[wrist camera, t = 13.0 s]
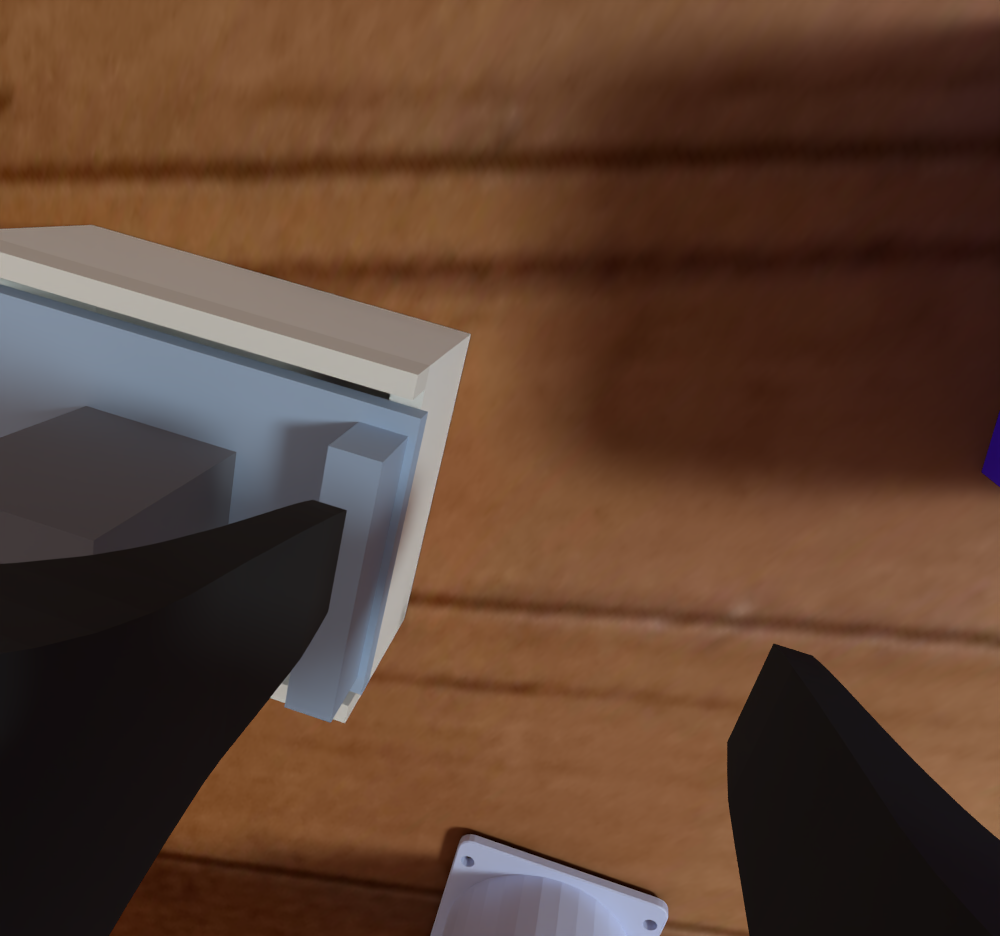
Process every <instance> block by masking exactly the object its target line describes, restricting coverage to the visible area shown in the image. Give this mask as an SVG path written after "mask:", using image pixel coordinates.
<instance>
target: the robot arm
mask: <svg viewBox="0 0 1000 936" xmlns="http://www.w3.org/2000/svg"><path fill="white" fill-rule="evenodd" d="M346 513H347V510H344V509H341V508H338V507H335V506H332V505H328V504H325V503H322V502H319V501H316V500H309V501H304V502H300V503H296V504H293V505H289V506H286V507H283V508H280V509H276V510H273V511H270V512H267V513H264V514H261V515H257V516H254V517H251V518H248V519H244V520H241V521H238V522H235V523H231V524H228V525H225V526H221V527H218V528H214V529H210V530H207V531H203V532H199V533H195V534H191V535H187V536H184V537H180V538H176V539H172V540H168V541H164V542H160V543H155V544H151V545H146V546H141V547H136V548H131V549H125V550H119V551H113V552H107V553H101V554H95V555H88V556H80V557H70V558H60V559H50V560H39V561H29V562H19V563H5V564H0V936H109V935H110V933H111V931H112V930H113V928H114V926H115V924H116V923H117V921H118V919H119V918H120V916H121V914H122V913H123V911H124V909H125V907H126V906H127V904H128V902H129V901H130V899H131V897H132V896H133V894H134V893H135V891H136V889H137V888H138V886H139V884H140V883H141V881H142V880H143V878H144V876H145V875H146V873H147V871H148V870H149V868H150V867H151V865H152V863H153V862H154V860H155V858H156V857H157V855H158V854H159V852H160V850H161V849H162V847H163V845H164V844H165V842H166V841H167V839H168V837H169V836H170V834H171V833H172V831H173V830H174V828H175V826H176V825H177V823H178V822H179V820H180V819H181V817H182V816H183V814H184V812H185V811H186V809H187V808H188V806H189V805H190V803H191V802H192V800H193V798H194V797H195V795H196V794H197V792H198V791H199V789H200V788H201V786H202V785H203V783H204V782H205V780H206V779H207V777H208V776H209V775H210V773H211V772H212V771H213V769H214V768H215V767H216V765H217V764H218V762H219V761H220V760H221V758H222V757H223V756H224V755H225V753H226V752H227V751H228V750H229V748H230V747H231V746H232V745H233V743H234V742H235V741H236V740H237V738H238V737H239V736H240V735H241V733H242V732H243V731H244V730H245V728H246V727H247V726H248V725H249V723H250V722H251V721H252V720H253V718H254V717H255V716H256V715H257V713H258V712H259V711H260V710H261V708H262V707H263V706H264V705H265V703H266V702H267V701H268V700H269V698H270V697H271V696H272V695H273V693H274V692H275V691H276V690H277V688H278V687H279V686H280V685H281V683H282V682H283V681H284V680H285V678H286V677H287V676H288V674H289V673H290V672H291V671H292V669H293V668H294V667H295V665H296V664H297V663H298V662H299V660H300V659H301V657H302V656H303V654H304V652H305V651H306V649H307V648H308V646H309V644H310V643H311V641H312V639H313V638H314V636H315V634H316V632H317V631H318V629H319V627H320V625H321V624H322V622H323V620H324V619H325V617H326V615H327V613H328V610H329V605H330V599H331V594H332V588H333V583H334V578H335V572H336V567H337V561H338V556H339V551H340V545H341V540H342V534H343V529H344V524H345V518H346ZM727 777H728V802H729V809H730V817H731V823H732V830H733V836H734V843H735V849H736V855H737V861H738V867H739V874H740V880H741V886H742V892H743V898H744V904H745V910H746V917H747V923H748V929H749V935H750V936H1000V840H999V839H998V838H996V837H995V836H994V835H993V834H992V833H991V832H989V831H988V830H987V829H986V828H985V827H983V826H982V825H981V824H980V823H979V822H978V821H977V820H976V819H975V818H973V817H972V816H971V815H970V814H969V813H968V812H967V811H966V810H965V809H963V808H962V807H961V806H960V805H959V804H958V803H957V802H956V801H955V800H954V799H953V798H952V797H951V796H950V795H949V794H948V793H947V792H946V791H945V790H944V789H942V788H941V787H940V786H939V785H938V784H937V783H936V782H935V781H934V780H933V779H932V778H931V777H930V776H929V775H928V774H927V773H926V772H925V771H924V770H923V769H922V768H921V767H920V766H919V765H918V764H917V763H916V762H915V761H914V760H913V759H912V758H911V757H910V756H909V755H908V754H907V753H906V752H905V751H904V750H903V749H902V748H901V747H900V746H899V745H898V744H897V743H896V742H895V741H894V739H893V738H892V737H891V736H890V735H889V734H888V733H887V732H886V731H885V730H884V729H883V728H882V727H881V726H880V725H879V724H878V723H877V721H876V720H875V719H874V718H873V717H872V716H871V715H870V714H869V713H868V712H867V711H866V710H865V709H864V708H863V706H862V705H861V704H860V703H859V702H858V701H857V700H856V699H855V698H854V697H853V696H852V695H851V694H850V692H849V691H848V690H847V689H846V688H845V687H844V686H843V685H842V684H841V683H840V682H839V681H838V680H837V679H836V678H835V677H834V676H833V675H832V674H831V673H830V672H829V671H828V670H827V669H826V668H825V667H824V666H823V665H822V664H821V663H820V662H819V661H818V660H817V659H815V658H814V657H813V656H812V655H809V654H805V653H802V652H799V651H796V650H793V649H789V648H786V647H783V646H780V645H777V644H773V646H772V648H771V650H770V652H769V655H768V657H767V659H766V661H765V663H764V665H763V667H762V669H761V672H760V674H759V676H758V678H757V680H756V682H755V684H754V686H753V689H752V691H751V693H750V695H749V697H748V699H747V701H746V704H745V706H744V708H743V710H742V712H741V714H740V716H739V718H738V721H737V723H736V725H735V727H734V729H733V731H732V733H731V735H730V738H729V740H728V742H727ZM466 856H469V857H471V858H468V857H466ZM667 919H668V907H667V904H666V903H665V902H664V901H663V900H661V899H659V898H657V897H654V896H651V895H648V894H645V893H642V892H640V891H637V890H634V889H631V888H628V887H625V886H622V885H619V884H616V883H613V882H611V881H608V880H605V879H602V878H599V877H596V876H593V875H590V874H587V873H584V872H582V871H579V870H576V869H573V868H570V867H567V866H564V865H561V864H558V863H555V862H553V861H550V860H547V859H544V858H541V857H538V856H535V855H532V854H529V853H526V852H524V851H521V850H518V849H515V848H512V847H509V846H506V845H503V844H500V843H497V842H495V841H492V840H489V839H486V838H483V837H480V836H477V835H473V834H468V835H464V836H463V837H462V838H461V839H460V841H459V845H458V848H457V851H456V854H455V857H454V861H453V864H452V867H451V870H450V874H449V877H448V880H447V883H446V886H445V890H444V893H443V896H442V899H441V903H440V906H439V909H438V912H437V915H436V919H435V922H434V925H433V928H432V932H431V935H430V936H660V934H661V932H662V930H663V928H664V926H665V924H666V922H667ZM650 920H652V921H650Z"/></svg>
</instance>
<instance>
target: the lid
mask: <svg viewBox="0 0 1000 936" xmlns="http://www.w3.org/2000/svg"><path fill="white" fill-rule="evenodd" d="M85 406H88V407H91V408H95V409H98V410H101V411H104V412H108V413H111V414H114V415H117V416H121V417H124V418H127V419H130V420H134V421H137V422H140V423H144V424H147V425H150V426H153V427H157V428H160V429H163V430H166V431H170V432H173V433H176V434H179V435H183V436H186V437H189V438H192V439H196V440H199V441H202V442H205V443H209V444H212V445H215V446H218V447H222V448H225V449H228V450H231V451H235V452H236V461H235V470H234V478H233V487H232V496H231V505H230V513H229V522H228V524H231V523H235V522H238V521H241V520H244V519H248V518H251V517H254V516H257V515H261V514H264V513H267V512H270V511H273V510H276V509H280V508H283V507H286V506H289V505H293V504H296V503H300V502H304V501H309V500H316V501H319V502H322V503H325V504H328V505H332V506H335V507H338V508H341V509H344V510H347V513H346V518H345V524H344V529H343V534H342V540H341V545H340V551H339V556H338V561H337V567H336V572H335V578H334V583H333V588H332V594H331V599H330V605H329V610H328V613H327V615H326V617H325V619H324V620H323V622H322V624H321V625H320V627H319V629H318V631H317V632H316V634H315V636H314V638H313V639H312V641H311V643H310V644H309V646H308V648H307V649H306V651H305V652H304V654H303V656H302V657H301V659H300V660H299V662H298V663H297V664H296V665H295V667H294V668H293V669H292V671H291V672H290V677H289V683H288V689H287V695H286V701H285V707H286V708H289V709H292V710H295V711H298V712H301V713H304V714H307V715H310V716H313V717H316V718H319V719H322V720H324V721H327V722H330V723H331V721H332V719H333V718H334V716H335V714H336V713H337V711H338V709H339V708H340V706H341V704H342V703H343V701H344V699H345V698H346V696H347V694H348V693H349V691H351V692H354V693H357V694H360V695H361V694H362V693H363V691H364V689H365V687H366V686H367V684H368V682H369V679H370V674H371V670H372V665H373V661H374V656H375V652H376V647H377V643H378V638H379V633H380V629H381V624H382V620H383V615H384V611H385V606H386V602H387V597H388V592H389V588H390V583H391V579H392V574H393V570H394V565H395V561H396V556H397V552H398V547H399V542H400V538H401V533H402V529H403V524H404V520H405V515H406V511H407V506H408V501H409V497H410V492H411V488H412V483H413V479H414V474H415V470H416V465H417V461H418V456H419V451H420V447H421V442H422V438H423V433H424V429H425V424H426V420H427V415H428V412H427V411H424V410H420V409H417V408H414V407H410V406H407V405H404V404H400V403H397V402H394V401H390V400H387V399H383V398H380V397H377V396H373V395H370V394H367V393H363V392H360V391H357V390H353V389H350V388H347V387H343V386H340V385H337V384H333V383H330V382H326V381H323V380H320V379H316V378H313V377H310V376H306V375H303V374H300V373H296V372H293V371H290V370H286V369H283V368H280V367H276V366H273V365H269V364H266V363H263V362H259V361H256V360H253V359H249V358H246V357H243V356H239V355H236V354H233V353H229V352H226V351H222V350H219V349H216V348H212V347H209V346H206V345H202V344H199V343H196V342H192V341H189V340H186V339H182V338H179V337H176V336H172V335H169V334H165V333H162V332H159V331H155V330H152V329H149V328H145V327H142V326H139V325H135V324H132V323H129V322H125V321H122V320H119V319H115V318H112V317H108V316H105V315H102V314H98V313H95V312H92V311H88V310H85V309H82V308H78V307H75V306H72V305H68V304H65V303H62V302H58V301H55V300H51V299H48V298H45V297H41V296H38V295H35V294H31V293H28V292H25V291H21V290H18V289H15V288H11V287H8V286H5V285H1V284H0V437H3V436H6V435H9V434H11V433H14V432H17V431H19V430H22V429H25V428H28V427H30V426H33V425H36V424H38V423H41V422H44V421H47V420H49V419H52V418H55V417H57V416H60V415H63V414H66V413H68V412H71V411H74V410H76V409H79V408H82V407H85Z"/></svg>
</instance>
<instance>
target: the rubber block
mask: <svg viewBox="0 0 1000 936" xmlns="http://www.w3.org/2000/svg"><path fill="white" fill-rule="evenodd" d="M235 461H236V452H235V451H231V450H228V449H225V448H222V447H218V446H215V445H212V444H209V443H205V442H202V441H199V440H196V439H192V438H189V437H186V436H183V435H179V434H176V433H173V432H170V431H166V430H163V429H160V428H157V427H153V426H150V425H147V424H144V423H140V422H137V421H134V420H130V419H127V418H124V417H121V416H117V415H114V414H111V413H108V412H104V411H101V410H98V409H95V408H91V407H88V406H85V407H82V408H79V409H76V410H74V411H71V412H68V413H66V414H63V415H60V416H57V417H55V418H52V419H49V420H47V421H44V422H41V423H38V424H36V425H33V426H30V427H28V428H25V429H22V430H19V431H17V432H14V433H11V434H9V435H6V436H3V437H0V564H5V563H19V562H29V561H39V560H50V559H60V558H70V557H80V556H88V555H95V554H101V553H107V552H113V551H119V550H125V549H131V548H136V547H141V546H146V545H151V544H155V543H160V542H164V541H168V540H172V539H176V538H180V537H184V536H187V535H191V534H195V533H199V532H203V531H207V530H210V529H214V528H218V527H221V526H225V525H228V522H229V513H230V505H231V496H232V487H233V478H234V470H235Z"/></svg>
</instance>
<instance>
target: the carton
mask: <svg viewBox="0 0 1000 936" xmlns="http://www.w3.org/2000/svg"><path fill="white" fill-rule="evenodd" d="M0 284H1V285H5V286H8V287H11V288H15V289H18V290H21V291H25V292H28V293H31V294H35V295H38V296H41V297H45V298H48V299H51V300H55V301H58V302H62V303H65V304H68V305H72V306H75V307H78V308H82V309H85V310H88V311H92V312H95V313H98V314H102V315H105V316H108V317H112V318H115V319H119V320H122V321H125V322H129V323H132V324H135V325H139V326H142V327H145V328H149V329H152V330H155V331H159V332H162V333H165V334H169V335H172V336H176V337H179V338H182V339H186V340H189V341H192V342H196V343H199V344H202V345H206V346H209V347H212V348H216V349H219V350H222V351H226V352H229V353H233V354H236V355H239V356H243V357H246V358H249V359H253V360H256V361H259V362H263V363H266V364H269V365H273V366H276V367H280V368H283V369H286V370H290V371H293V372H296V373H300V374H303V375H306V376H310V377H313V378H316V379H320V380H323V381H326V382H330V383H333V384H337V385H340V386H343V387H347V388H350V389H353V390H357V391H360V392H363V393H367V394H370V395H373V396H377V397H380V398H383V399H387V400H390V401H394V402H397V403H400V404H404V405H407V406H410V407H414V408H417V409H420V410H424V411H427V412H428V415H427V420H426V424H425V429H424V433H423V438H422V442H421V447H420V451H419V456H418V461H417V465H416V470H415V474H414V479H413V483H412V488H411V492H410V497H409V501H408V506H407V511H406V515H405V520H404V524H403V529H402V533H401V538H400V542H399V547H398V552H397V556H396V561H395V565H394V570H393V574H392V579H391V583H390V588H389V592H388V597H387V602H386V606H385V611H384V615H383V620H382V624H381V629H380V633H379V638H378V643H377V647H376V652H375V656H374V661H373V665H372V670H371V674H370V678H371V676H372V675H373V673H374V671H375V669H376V668H377V666H378V664H379V662H380V661H381V659H382V657H383V655H384V654H385V652H386V650H387V648H388V647H389V645H390V643H391V641H392V639H393V638H394V636H395V634H396V632H397V631H398V629H399V627H400V625H401V624H402V622H403V620H404V618H405V614H406V610H407V606H408V601H409V597H410V593H411V588H412V584H413V580H414V576H415V571H416V567H417V563H418V558H419V554H420V550H421V546H422V541H423V537H424V533H425V528H426V524H427V520H428V516H429V511H430V507H431V503H432V498H433V494H434V490H435V486H436V481H437V477H438V473H439V468H440V464H441V460H442V456H443V451H444V447H445V443H446V438H447V434H448V430H449V425H450V421H451V417H452V413H453V408H454V404H455V400H456V395H457V391H458V387H459V383H460V378H461V374H462V370H463V365H464V361H465V357H466V353H467V348H468V344H469V340H470V335H471V334H469V333H466V332H462V331H459V330H455V329H452V328H448V327H445V326H441V325H438V324H434V323H431V322H427V321H424V320H420V319H417V318H414V317H410V316H407V315H403V314H400V313H396V312H393V311H389V310H386V309H382V308H379V307H375V306H372V305H368V304H365V303H361V302H358V301H354V300H351V299H348V298H344V297H341V296H337V295H334V294H330V293H327V292H323V291H320V290H316V289H313V288H309V287H306V286H302V285H299V284H295V283H292V282H288V281H285V280H282V279H278V278H275V277H271V276H268V275H264V274H261V273H257V272H254V271H250V270H247V269H243V268H240V267H236V266H233V265H229V264H226V263H222V262H219V261H216V260H212V259H209V258H205V257H202V256H198V255H195V254H191V253H188V252H184V251H181V250H177V249H174V248H170V247H167V246H163V245H160V244H156V243H153V242H150V241H146V240H143V239H139V238H136V237H132V236H129V235H125V234H122V233H118V232H115V231H111V230H108V229H104V228H101V227H97V226H94V225H81V226H57V227H34V228H11V229H0ZM289 677H290V673H289V674H288V676H287V677H286V678H285V680H284V681H283V682H282V683H281V685H280V686H279V687H278V688H277V690H276V691H275V692H274V693H273V695H272V696H271V697H270V698H272V699H275V700H278V701H281V702H284V703H285V701H286V695H287V689H288V683H289ZM369 680H370V679H369ZM360 696H361V695H360V694H357V693H354V692H351V691H349V693H348V694H347V696H346V698H345V699H344V701H343V703H342V704H341V706H340V708H339V709H338V711H337V713H336V714H335V716H334V718H333V719H334V720H337V721H340V722H343V723H345V722H346V720H347V719H348V717H349V715H350V713H351V712H352V710H353V708H354V706H355V705H356V703H357V701H358V699H359V698H360Z"/></svg>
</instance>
